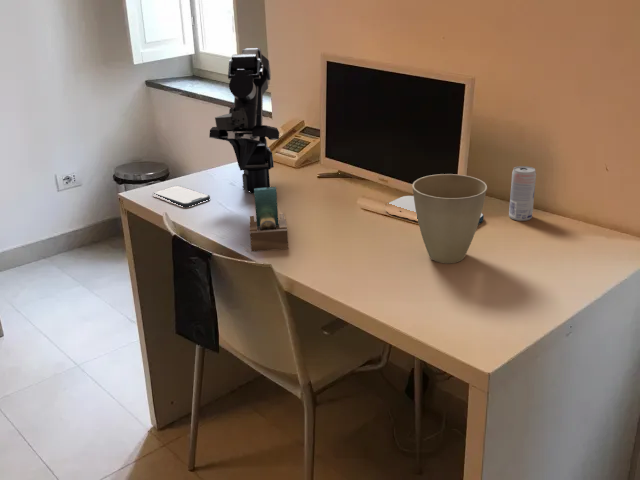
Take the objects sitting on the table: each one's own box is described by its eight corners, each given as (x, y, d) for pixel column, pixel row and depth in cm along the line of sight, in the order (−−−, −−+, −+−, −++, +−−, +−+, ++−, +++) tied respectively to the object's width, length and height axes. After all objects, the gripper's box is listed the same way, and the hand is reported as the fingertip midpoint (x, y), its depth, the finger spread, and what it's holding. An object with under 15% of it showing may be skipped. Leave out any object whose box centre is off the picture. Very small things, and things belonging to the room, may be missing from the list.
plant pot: (399, 249, 149) (399, 180, 142) (458, 238, 153) (461, 170, 147) (432, 277, 136) (435, 202, 129) (496, 263, 140) (502, 190, 134)
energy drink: (529, 213, 166) (534, 165, 161) (533, 221, 161) (538, 172, 156) (507, 213, 166) (510, 165, 161) (510, 221, 161) (514, 172, 157)
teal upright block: (256, 224, 165) (253, 188, 161) (278, 223, 165) (275, 186, 161) (257, 237, 157) (254, 199, 154) (279, 235, 158) (277, 198, 154)
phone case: (151, 198, 188) (185, 210, 177) (150, 192, 187) (184, 204, 176) (178, 190, 193) (212, 201, 183) (177, 184, 193) (212, 195, 182)
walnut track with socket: (250, 223, 166) (249, 206, 164) (284, 221, 166) (283, 204, 165) (251, 251, 150) (249, 233, 149) (288, 248, 151) (287, 230, 149)
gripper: (195, 101, 168) (191, 164, 169) (252, 97, 157) (247, 164, 158) (226, 108, 177) (222, 168, 178) (282, 105, 166) (278, 169, 167)
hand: (241, 168), depth 170 cm, fingers closed
